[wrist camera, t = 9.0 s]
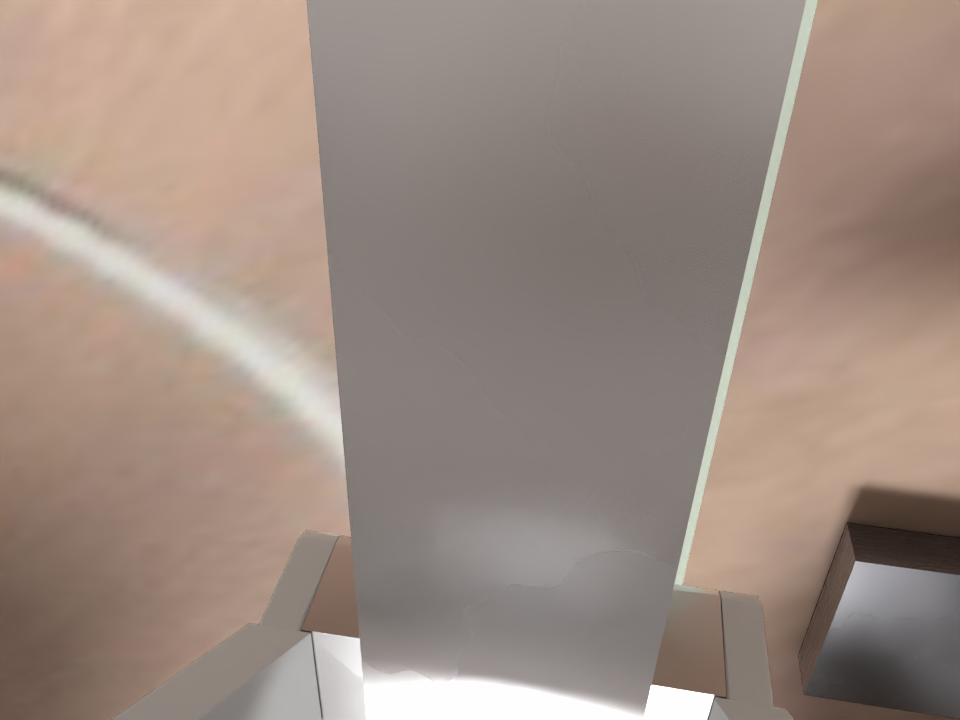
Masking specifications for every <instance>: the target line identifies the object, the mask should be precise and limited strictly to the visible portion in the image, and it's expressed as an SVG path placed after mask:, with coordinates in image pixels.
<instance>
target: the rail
mask: <svg viewBox="0 0 960 720" xmlns="http://www.w3.org/2000/svg"><path fill="white" fill-rule="evenodd" d="M805 3H806V0H307V11H308V23H309V35H310V47H311V59H312V71H313V83H314V95H315V107H316V119H317V131H318V143H319V155H320V167H321V179H322V191H323V203H324V215H325V227H326V240H327V252H328V264H329V276H330V288H331V300H332V312H333V324H334V336H335V348H336V360H337V372H338V384H339V396H340V408H341V420H342V432H343V444H344V456H345V468H346V480H347V492H348V504H349V516H350V528H351V540H352V552H353V564H354V576H355V588H356V600H357V612H358V625H359V637H360V649H361V661H362V673H363V685H364V697H365V709H366V720H644V716H645V711H646V707H647V703H648V698H649V694H650V689H651V685H652V680H653V676H654V672H655V667H656V663H657V658H658V654H659V649H660V645H661V641H662V636H663V632H664V627H665V623H666V618H667V614H668V610H669V605H670V601H671V596H672V592H673V588H674V583H675V579H676V574H677V570H678V565H679V561H680V557H681V552H682V548H683V543H684V539H685V534H686V530H687V526H688V521H689V517H690V512H691V508H692V503H693V499H694V495H695V490H696V486H697V481H698V477H699V472H700V468H701V464H702V459H703V455H704V450H705V446H706V441H707V437H708V433H709V428H710V424H711V419H712V415H713V410H714V406H715V402H716V397H717V393H718V388H719V384H720V379H721V375H722V371H723V366H724V362H725V357H726V353H727V348H728V344H729V340H730V335H731V331H732V326H733V322H734V317H735V313H736V309H737V304H738V300H739V295H740V291H741V286H742V282H743V278H744V273H745V269H746V264H747V260H748V255H749V251H750V247H751V242H752V238H753V233H754V229H755V224H756V220H757V216H758V211H759V207H760V202H761V198H762V193H763V189H764V185H765V180H766V176H767V171H768V167H769V162H770V158H771V154H772V149H773V145H774V140H775V136H776V131H777V127H778V123H779V118H780V114H781V109H782V105H783V101H784V96H785V92H786V87H787V83H788V78H789V74H790V70H791V65H792V61H793V56H794V52H795V47H796V43H797V39H798V34H799V30H800V25H801V21H802V16H803V12H804V8H805Z"/></svg>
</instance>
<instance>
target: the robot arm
mask: <svg viewBox="0 0 960 720" xmlns="http://www.w3.org/2000/svg"><path fill="white" fill-rule="evenodd" d="M112 720H366V709H365V697H364V685H363V673H362V661H361V649H360V637H359V625H358V612H357V600H356V588H355V576H354V564H353V552H352V540H351V537H348V536H343V535H341V536H340V535H334V534H328V533H322V532H316V531H310V530H305V532H304V533H303V534H302V535H301V536H300V537H299V538H298V540H297V542H296V544H295V547H294V549H293V551H292V553H291V555H290V558H289V560H288V562H287V564H286V566H285V569H284V571H283V573H282V575H281V577H280V579H279V582H278V584H277V586H276V588H275V590H274V593H273V595H272V597H271V599H270V601H269V604H268V606H267V608H266V610H265V612H264V615H263V617H262V619H261V621H260V623H259V624H252V623H248V624H247V625H245V626H244V627H242V628H241V629H239V630H238V631H237V632H235V633H234V634H232V635H231V636H230V637H228V638H227V639H225V640H224V641H222V642H221V643H220V644H218V645H217V646H215V647H214V648H213V649H211V650H210V651H208V652H207V653H205V654H204V655H203V656H201V657H200V658H198V659H197V660H195V661H194V662H193V663H191V664H190V665H188V666H187V667H186V668H184V669H183V670H181V671H180V672H178V673H177V674H176V675H174V676H173V677H171V678H170V679H169V680H167V681H166V682H164V683H163V684H161V685H160V686H159V687H157V688H156V689H154V690H153V691H152V692H150V693H149V694H147V695H146V696H144V697H143V698H142V699H140V700H139V701H137V702H136V703H134V704H133V705H132V706H130V707H129V708H127V709H126V710H125V711H123V712H122V713H120V714H119V715H117V716H116V717H115V718H113V719H112ZM644 720H794V719H793V717H792V716H791V715H790V713H789V712H788V711H787V710H786V709H784V708H779V707H774V703H773V694H772V686H771V677H770V668H769V659H768V651H767V642H766V633H765V625H764V616H763V607H762V602H761V600H760V599H759V597H758V596H754V595H747V594H740V593H733V592H726V591H717V590H715V589H708V588H700V587H693V586H685V585H678V584H674V588H673V592H672V596H671V601H670V605H669V610H668V614H667V618H666V623H665V627H664V632H663V636H662V641H661V645H660V649H659V654H658V658H657V663H656V667H655V672H654V676H653V680H652V685H651V689H650V694H649V698H648V703H647V707H646V711H645V716H644Z"/></svg>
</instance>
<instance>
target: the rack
mask: <svg viewBox="0 0 960 720" xmlns="http://www.w3.org/2000/svg"><path fill="white" fill-rule="evenodd" d="M798 659H799V666H800V672H801V679H802V686H803V693H804V695H808V696H814V697H821V698H827V699H834V700H840V701H846V702H853V703H859V704H866V705H872V706H879V707H885V708H891V709H898V710H904V711H911V712H917V713H923V714H930V715H936V716H943V717H949V718H956V719H960V538H955V537H947V536H940V535H932V534H925V533H917V532H910V531H902V530H895V529H887V528H880V527H872V526H865V525H857V524H850V523H847V524H846V527H845V530H844V532H843V535H842V538H841V541H840V543H839V546H838V549H837V552H836V554H835V557H834V560H833V562H832V565H831V568H830V571H829V573H828V576H827V579H826V581H825V584H824V587H823V590H822V592H821V595H820V598H819V601H818V603H817V606H816V609H815V611H814V614H813V617H812V620H811V622H810V625H809V628H808V630H807V633H806V636H805V639H804V641H803V644H802V647H801V650H800V652H799V655H798Z"/></svg>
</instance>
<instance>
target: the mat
mask: <svg viewBox="0 0 960 720" xmlns="http://www.w3.org/2000/svg"><path fill="white" fill-rule="evenodd" d="M817 2H818V0H806V3H805V8H804V12H803V16H802V21H801V25H800V30H799V34H798V39H797V43H796V47H795V52H794V56H793V61H792V65H791V70H790V74H789V78H788V83H787V87H786V92H785V96H784V101H783V105H782V109H781V114H780V118H779V123H778V127H777V131H776V136H775V140H774V145H773V149H772V154H771V158H770V162H769V167H768V171H767V176H766V180H765V185H764V189H763V193H762V198H761V202H760V207H759V211H758V216H757V220H756V224H755V229H754V233H753V238H752V242H751V247H750V251H749V255H748V260H747V264H746V269H745V273H744V278H743V282H742V286H741V291H740V295H739V300H738V304H737V309H736V313H735V317H734V322H733V326H732V331H731V335H730V340H729V344H728V348H727V353H726V357H725V362H724V366H723V371H722V375H721V379H720V384H719V388H718V393H717V397H716V402H715V406H714V410H713V415H712V419H711V424H710V428H709V433H708V437H707V441H706V446H705V450H704V455H703V459H702V464H701V468H700V472H699V477H698V481H697V486H696V490H695V495H694V499H693V503H692V508H691V512H690V517H689V521H688V526H687V530H686V534H685V539H684V543H683V548H682V552H681V557H680V561H679V565H678V570H677V574H676V579H675V583H674V584H678V585H682V584H683V580H684V575H685V571H686V567H687V562H688V558H689V554H690V549H691V545H692V541H693V536H694V532H695V528H696V523H697V519H698V515H699V511H700V506H701V502H702V498H703V493H704V489H705V485H706V480H707V476H708V472H709V467H710V463H711V459H712V455H713V450H714V446H715V442H716V437H717V433H718V429H719V424H720V420H721V416H722V411H723V407H724V403H725V398H726V394H727V390H728V386H729V381H730V377H731V373H732V368H733V364H734V360H735V355H736V351H737V347H738V342H739V338H740V334H741V329H742V325H743V321H744V317H745V312H746V308H747V304H748V299H749V295H750V291H751V286H752V282H753V278H754V273H755V269H756V265H757V260H758V256H759V252H760V248H761V243H762V239H763V235H764V230H765V226H766V222H767V217H768V213H769V209H770V204H771V200H772V196H773V191H774V187H775V183H776V179H777V174H778V170H779V166H780V161H781V157H782V153H783V148H784V144H785V140H786V135H787V131H788V127H789V122H790V118H791V114H792V110H793V105H794V101H795V97H796V92H797V88H798V84H799V79H800V75H801V71H802V66H803V62H804V58H805V54H806V49H807V45H808V41H809V36H810V32H811V28H812V23H813V19H814V15H815V10H816V6H817Z"/></svg>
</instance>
